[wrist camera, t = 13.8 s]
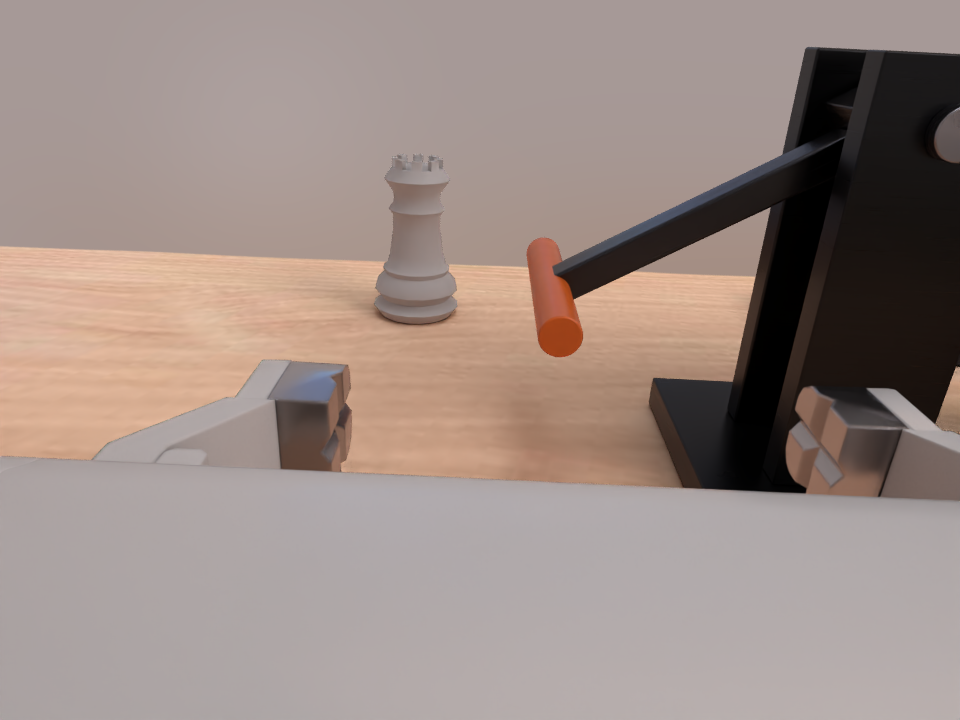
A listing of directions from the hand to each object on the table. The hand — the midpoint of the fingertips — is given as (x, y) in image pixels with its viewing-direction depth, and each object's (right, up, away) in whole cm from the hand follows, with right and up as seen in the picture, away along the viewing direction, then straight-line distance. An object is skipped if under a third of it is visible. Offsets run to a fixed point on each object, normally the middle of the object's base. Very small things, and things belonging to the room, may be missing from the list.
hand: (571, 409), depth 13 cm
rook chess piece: (-5, +3, +25) cm, 26 cm away
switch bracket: (+10, -3, +12) cm, 16 cm away
